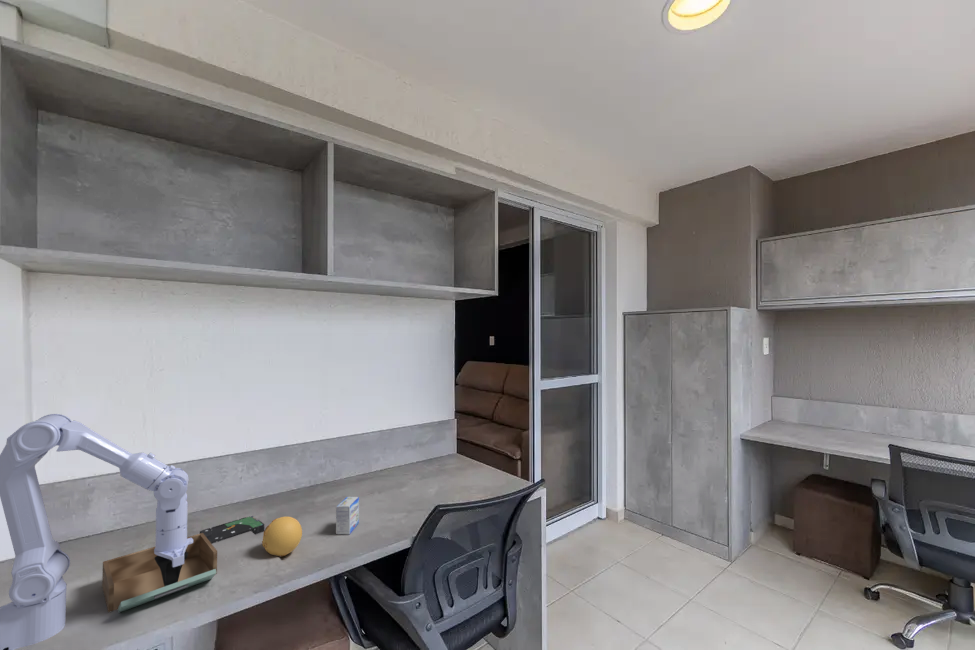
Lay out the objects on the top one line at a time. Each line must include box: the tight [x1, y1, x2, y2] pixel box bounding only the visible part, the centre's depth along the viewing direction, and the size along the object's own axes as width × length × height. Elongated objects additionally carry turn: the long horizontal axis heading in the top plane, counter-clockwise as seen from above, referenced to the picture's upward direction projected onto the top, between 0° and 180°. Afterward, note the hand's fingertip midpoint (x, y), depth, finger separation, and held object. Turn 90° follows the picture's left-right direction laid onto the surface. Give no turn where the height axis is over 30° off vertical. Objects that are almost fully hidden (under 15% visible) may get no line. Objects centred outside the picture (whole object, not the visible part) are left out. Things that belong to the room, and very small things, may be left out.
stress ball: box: [261, 516, 303, 558], centre depth 115 cm, size 10×10×10 cm
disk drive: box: [199, 515, 266, 545], centre depth 126 cm, size 10×3×15 cm
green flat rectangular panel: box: [117, 569, 217, 613], centre depth 94 cm, size 17×2×6 cm
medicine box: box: [335, 496, 360, 535], centre depth 131 cm, size 8×4×9 cm, turn 177°
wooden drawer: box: [101, 532, 218, 613], centre depth 101 cm, size 20×14×7 cm
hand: (170, 586), depth 93 cm, fingers closed, pressing on green flat rectangular panel
